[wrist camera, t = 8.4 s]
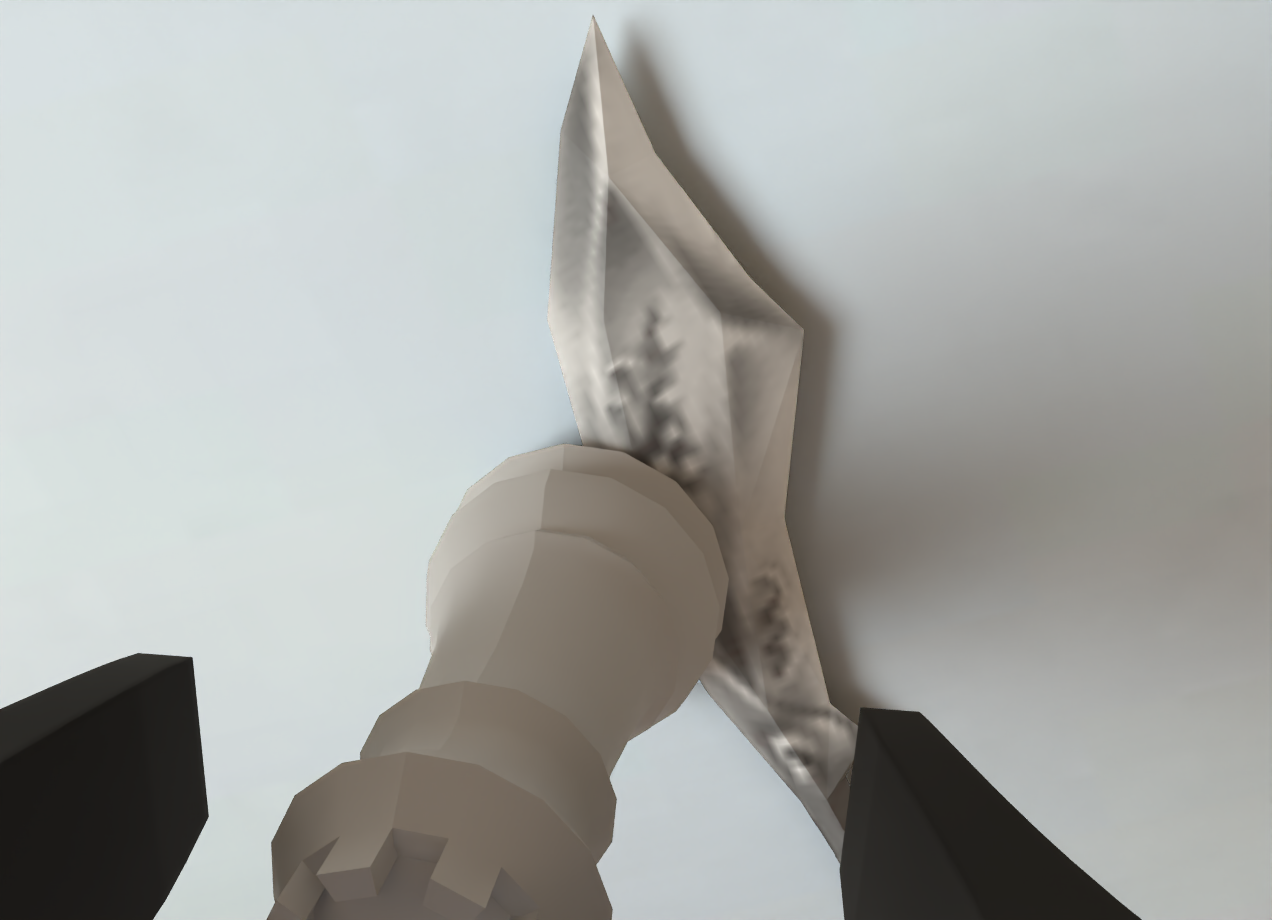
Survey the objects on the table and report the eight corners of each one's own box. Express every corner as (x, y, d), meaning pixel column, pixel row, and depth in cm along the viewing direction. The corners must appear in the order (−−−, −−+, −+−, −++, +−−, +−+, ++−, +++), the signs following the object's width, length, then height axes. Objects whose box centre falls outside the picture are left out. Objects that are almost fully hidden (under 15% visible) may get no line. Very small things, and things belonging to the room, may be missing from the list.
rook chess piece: (429, 439, 15) (85, 759, 8) (719, 425, 15) (636, 766, 7) (474, 691, 17) (217, 1160, 9) (740, 691, 16) (688, 1202, 9)
